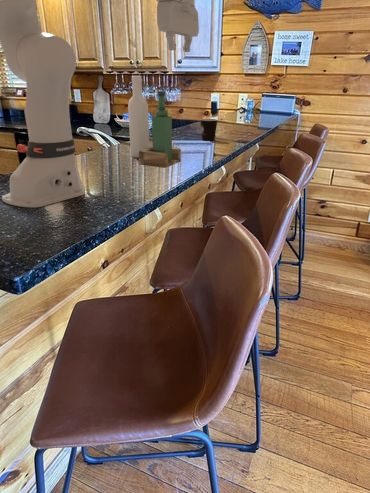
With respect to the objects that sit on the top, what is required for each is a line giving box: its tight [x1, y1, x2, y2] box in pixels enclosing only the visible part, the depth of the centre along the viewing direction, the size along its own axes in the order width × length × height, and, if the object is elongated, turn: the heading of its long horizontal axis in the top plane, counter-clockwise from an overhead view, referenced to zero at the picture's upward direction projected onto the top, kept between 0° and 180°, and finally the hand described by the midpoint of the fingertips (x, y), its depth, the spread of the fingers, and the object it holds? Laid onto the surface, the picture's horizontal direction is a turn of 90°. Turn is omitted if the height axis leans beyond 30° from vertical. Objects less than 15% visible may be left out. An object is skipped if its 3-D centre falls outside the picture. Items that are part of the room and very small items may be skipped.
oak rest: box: [138, 146, 182, 169], centre depth 136 cm, size 12×11×5 cm
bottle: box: [127, 75, 150, 159], centre depth 142 cm, size 8×8×30 cm
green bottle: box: [151, 90, 173, 162], centre depth 131 cm, size 5×5×24 cm
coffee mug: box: [199, 118, 218, 142], centre depth 185 cm, size 12×9×10 cm
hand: (179, 51), depth 112 cm, fingers open, 8 cm apart
